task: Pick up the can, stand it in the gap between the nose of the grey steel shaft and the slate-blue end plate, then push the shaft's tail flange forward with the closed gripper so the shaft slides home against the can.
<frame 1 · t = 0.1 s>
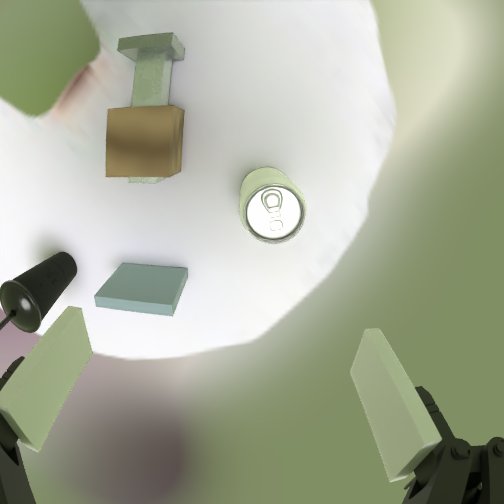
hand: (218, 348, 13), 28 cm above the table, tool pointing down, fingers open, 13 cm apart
drinking cup: (66, 265, 41), on the table
shaft: (146, 110, 30), point 4 cm above the table, slide at 0.0 cm
end plate: (154, 270, 41), on the table
can: (265, 191, 38), on the table
tan wooden block: (153, 140, 35), on the table
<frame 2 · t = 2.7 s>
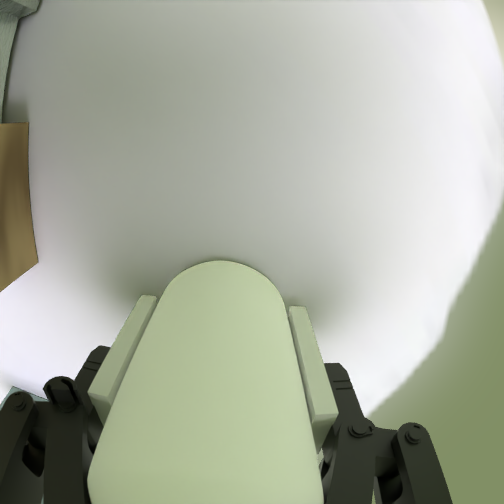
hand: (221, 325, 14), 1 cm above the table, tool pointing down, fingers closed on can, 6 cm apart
can: (222, 312, 15), on the table, touching gripper
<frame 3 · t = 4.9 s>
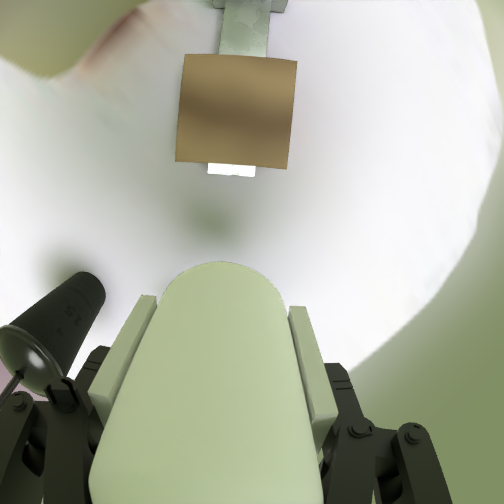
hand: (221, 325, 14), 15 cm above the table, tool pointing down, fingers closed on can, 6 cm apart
drinking cup: (88, 290, 30), on the table
shaft: (241, 66, 19), point 4 cm above the table, slide at 0.0 cm
can: (222, 313, 15), point 14 cm above the table, touching gripper
tan wooden block: (237, 115, 24), on the table
when the fingers open (2 cm above the table, at t = 7.3 s): can stays where it is, on the table.
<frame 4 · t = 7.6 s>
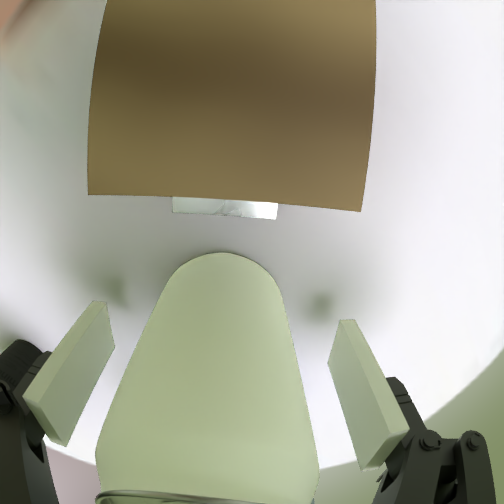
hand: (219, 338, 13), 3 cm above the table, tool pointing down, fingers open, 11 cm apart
drinking cup: (34, 361, 18), on the table
can: (222, 303, 16), on the table
tan wooden block: (237, 90, 12), on the table
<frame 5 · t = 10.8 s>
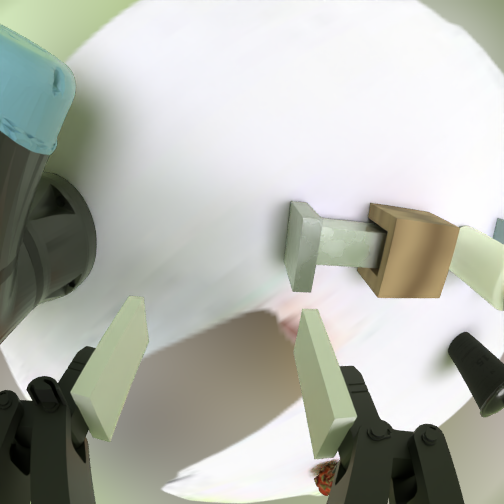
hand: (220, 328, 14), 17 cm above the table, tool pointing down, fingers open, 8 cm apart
drinking cup: (459, 343, 38), on the table
shaft: (378, 249, 27), point 4 cm above the table, slide at 0.0 cm
end plate: (492, 252, 32), on the table
red pine cone: (334, 466, 50), on the table
can: (459, 248, 32), on the table
tan wooden block: (394, 240, 31), on the table
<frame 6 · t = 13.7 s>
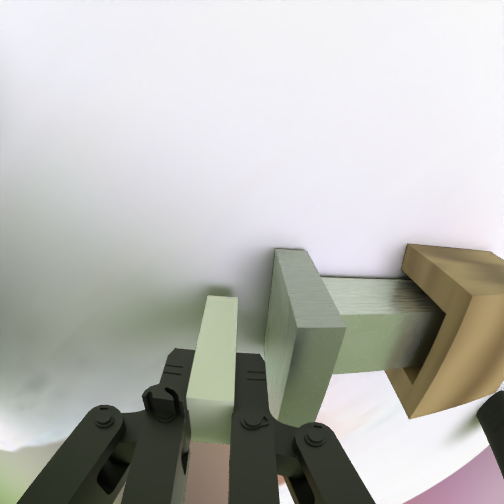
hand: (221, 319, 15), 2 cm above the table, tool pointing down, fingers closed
drinking cup: (490, 403, 24), on the table
shaft: (432, 335, 13), point 4 cm above the table, slide at 0.9 cm, touching gripper
tan wooden block: (438, 301, 17), on the table
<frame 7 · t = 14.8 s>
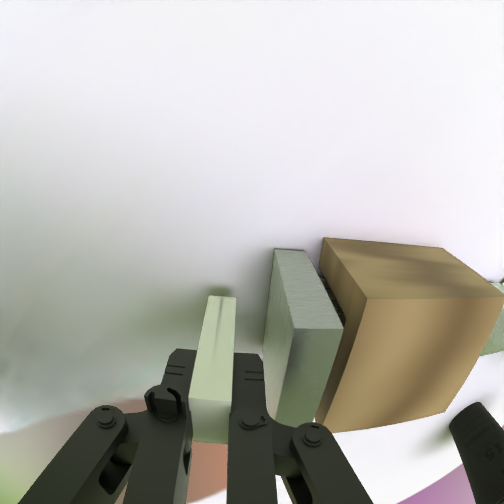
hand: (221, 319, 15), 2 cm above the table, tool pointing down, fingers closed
drinking cup: (465, 414, 24), on the table
shaft: (431, 337, 13), point 4 cm above the table, slide at 6.1 cm, touching can, gripper
tan wooden block: (374, 304, 17), on the table
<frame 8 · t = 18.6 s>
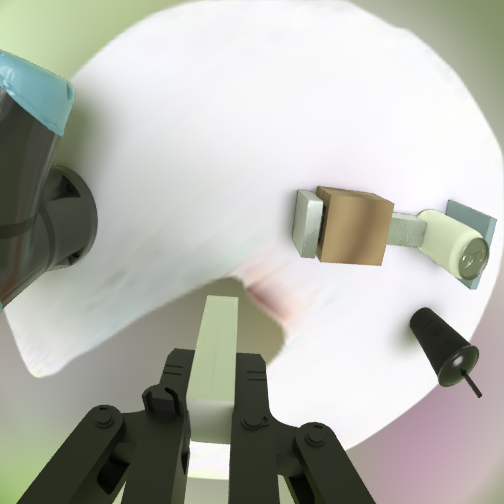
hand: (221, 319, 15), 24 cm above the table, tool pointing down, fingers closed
drinking cup: (420, 318, 45), on the table
shaft: (367, 227, 35), point 4 cm above the table, slide at 6.1 cm
end plate: (445, 231, 39), on the table
can: (426, 228, 39), on the table
tan wooden block: (342, 218, 38), on the table
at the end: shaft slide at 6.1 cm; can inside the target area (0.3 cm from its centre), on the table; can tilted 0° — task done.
